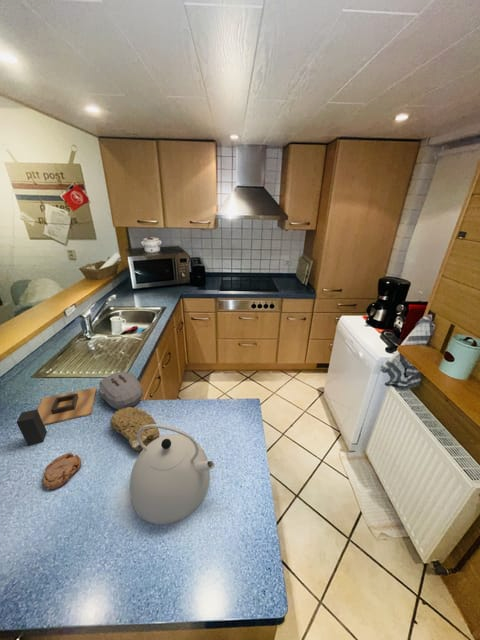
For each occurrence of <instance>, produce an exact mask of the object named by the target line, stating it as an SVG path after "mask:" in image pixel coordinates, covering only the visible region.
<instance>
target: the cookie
mask: <svg viewBox="0 0 480 640" xmlns="http://www.w3.org/2000/svg"><path fill="white" fill-rule="evenodd" d="M81 467H82V459H81V457H80V456H79V455H78V454H75V455H74V453H73V452H67V453H64V454H63V455H60V456H58V457H56V458H54V459H53V460H52V461H51V462H49V464H47V465H46V466H45V468H44V473H43V476H42V484H43V486H44V488H45V489H46V490H55V489H58V488H61V487H62V486H63V485H64V484H65V483H68V482H69V481H70V479H71V478H72V477H73V475H74V474H75V473H76V472H77V471H79V470H80V469H81Z"/></svg>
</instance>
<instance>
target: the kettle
mask: <svg viewBox="0 0 480 640" xmlns="http://www.w3.org/2000/svg"><path fill="white" fill-rule="evenodd" d="M146 428H158V429H162V430H166V431H171V432H173V433H167V434H164V435H160V436H159V438H157V439H155V440H153V441H152V442H151V443H149V444H148V445H147V446H145V445H144V444H143V443H142V441H141V439H140V433H141V431H142V430H144V429H146ZM137 440H138V442H139V444H140V446H141V447H142V448H143V449H141V452H140V453H139V454H138V456H137V458H136V459H135V462H134V464H133V466H132V468H131V469H132V470H131V473H130V478H129V491H130V497H131V502H132V506H133V508H134V511H135V512H136V514H137V515H138V516H139V517H140V518H141V519H142V520H144V521H146V522H148V523H151V524H154V525H170V524H174V523H176V522H179V521H182V520H183V519H185V518H186V517H188V516H190V515H191V514H193V512H194V511H195V510H197V508H198V507H199V506H200V505H201V503H202V502H203V500H204V499H205V497H206V495H207V492H208V491H209V490H208V489H209V487H210V481H211V473H210V470H214V469H215V467H216V465H215V463H214V461H212V460H208V458H207V454H206V452H205V450H204V449H203V447H202V446H201V444H199V442H197V441H196V439H195V438H193V436H191V435H190V434H188V433H187V432H185V431H183V430H181V429H178V428H175V427H172V426H168V425H162V424H157V423H156V424H150V425H145V426H143V427H141V428H140V429H139V430H138V433H137Z"/></svg>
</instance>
